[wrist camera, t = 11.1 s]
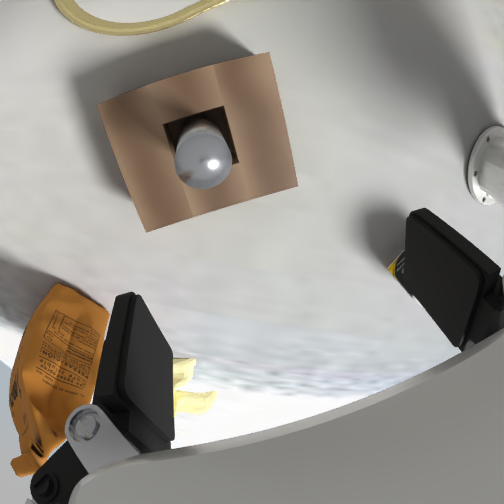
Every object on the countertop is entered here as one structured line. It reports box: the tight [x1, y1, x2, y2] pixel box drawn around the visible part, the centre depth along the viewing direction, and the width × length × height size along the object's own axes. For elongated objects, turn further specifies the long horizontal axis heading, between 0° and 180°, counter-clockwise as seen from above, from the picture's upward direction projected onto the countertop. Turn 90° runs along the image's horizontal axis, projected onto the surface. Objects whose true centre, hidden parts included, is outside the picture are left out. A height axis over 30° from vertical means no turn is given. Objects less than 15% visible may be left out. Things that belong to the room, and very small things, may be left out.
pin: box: [174, 116, 232, 189], centre depth 23 cm, size 4×4×10 cm
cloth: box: [173, 358, 218, 418], centre depth 45 cm, size 22×19×6 cm
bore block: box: [97, 52, 298, 233], centre depth 26 cm, size 14×12×5 cm
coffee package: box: [9, 283, 109, 477], centre depth 27 cm, size 10×12×22 cm
